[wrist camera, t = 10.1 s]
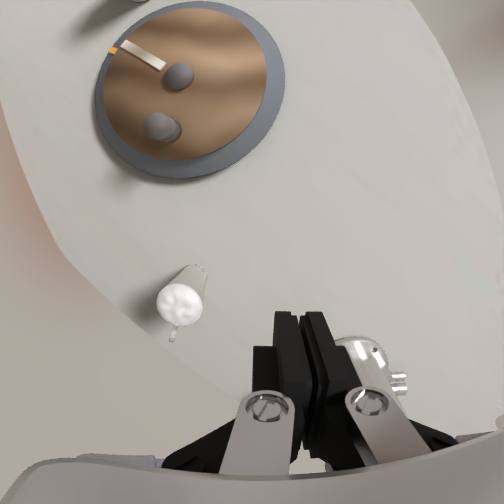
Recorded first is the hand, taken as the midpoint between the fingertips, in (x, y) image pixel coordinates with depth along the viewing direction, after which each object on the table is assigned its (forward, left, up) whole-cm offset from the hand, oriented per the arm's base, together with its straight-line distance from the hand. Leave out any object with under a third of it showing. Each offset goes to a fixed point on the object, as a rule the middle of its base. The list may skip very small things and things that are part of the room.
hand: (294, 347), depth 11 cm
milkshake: (+8, +8, -25) cm, 28 cm away
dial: (+11, -15, -24) cm, 30 cm away
